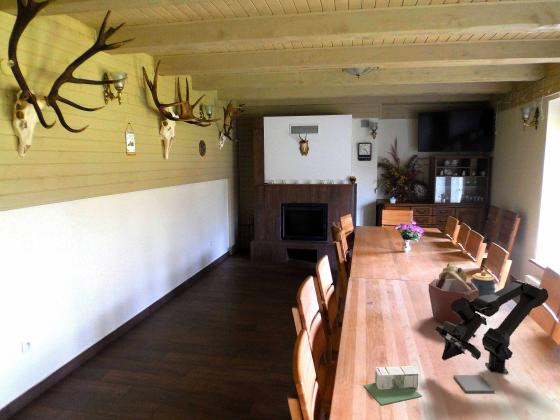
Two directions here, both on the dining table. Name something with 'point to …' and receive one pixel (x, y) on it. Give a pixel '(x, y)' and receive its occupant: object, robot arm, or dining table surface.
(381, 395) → the felt mat
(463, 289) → the bucket
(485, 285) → the canister
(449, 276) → the frog figurine
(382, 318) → the dining table surface
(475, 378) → the slate coaster
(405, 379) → the syrup box
